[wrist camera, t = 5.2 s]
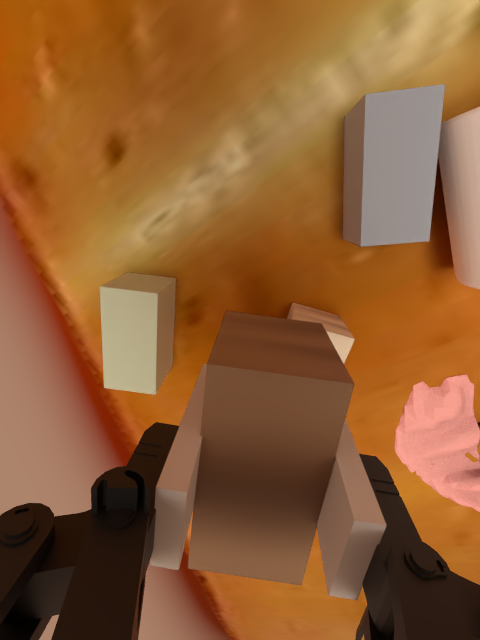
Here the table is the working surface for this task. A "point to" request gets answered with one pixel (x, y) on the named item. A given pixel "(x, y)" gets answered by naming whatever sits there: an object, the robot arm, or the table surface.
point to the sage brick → (137, 331)
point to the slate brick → (391, 166)
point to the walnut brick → (266, 446)
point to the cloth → (442, 439)
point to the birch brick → (326, 326)
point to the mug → (462, 192)
